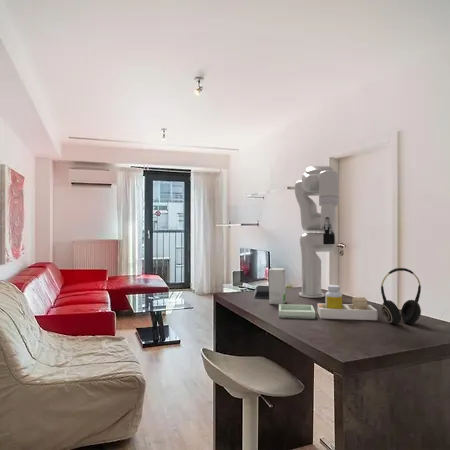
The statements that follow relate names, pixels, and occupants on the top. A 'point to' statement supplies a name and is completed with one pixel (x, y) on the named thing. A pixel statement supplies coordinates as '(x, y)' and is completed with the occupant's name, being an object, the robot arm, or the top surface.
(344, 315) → the holder
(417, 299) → the headphones
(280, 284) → the skincare box
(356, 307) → the birch block
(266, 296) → the external hard drive
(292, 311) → the tray
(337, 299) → the pill bottle
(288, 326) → the top surface
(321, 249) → the robot arm
